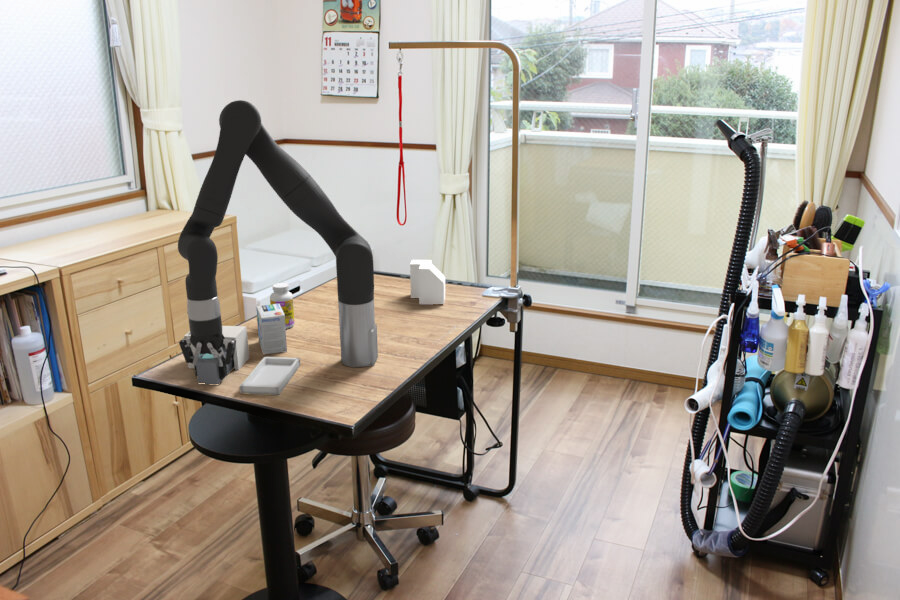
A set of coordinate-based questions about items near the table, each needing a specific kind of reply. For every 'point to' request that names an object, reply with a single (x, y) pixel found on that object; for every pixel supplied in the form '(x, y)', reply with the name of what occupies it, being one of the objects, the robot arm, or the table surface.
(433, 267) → the corner bracket
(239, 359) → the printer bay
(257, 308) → the light bulb box
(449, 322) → the table surface
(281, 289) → the supplement bottle
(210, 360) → the slab with teal patch
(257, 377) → the tray
